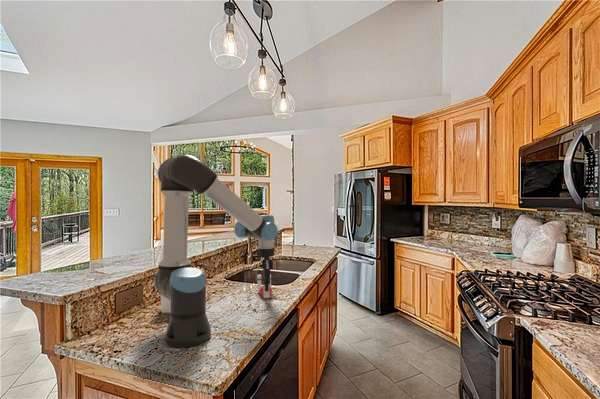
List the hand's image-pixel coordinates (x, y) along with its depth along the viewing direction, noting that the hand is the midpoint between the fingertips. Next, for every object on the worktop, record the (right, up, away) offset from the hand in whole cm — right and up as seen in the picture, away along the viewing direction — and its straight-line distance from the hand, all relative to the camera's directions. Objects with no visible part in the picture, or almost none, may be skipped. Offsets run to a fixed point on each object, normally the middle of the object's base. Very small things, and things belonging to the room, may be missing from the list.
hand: (266, 297), depth 146 cm
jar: (-41, -2, -11) cm, 42 cm away
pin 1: (-5, -2, +14) cm, 15 cm away
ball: (-1, +1, +6) cm, 7 cm away
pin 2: (0, -2, +15) cm, 15 cm away
